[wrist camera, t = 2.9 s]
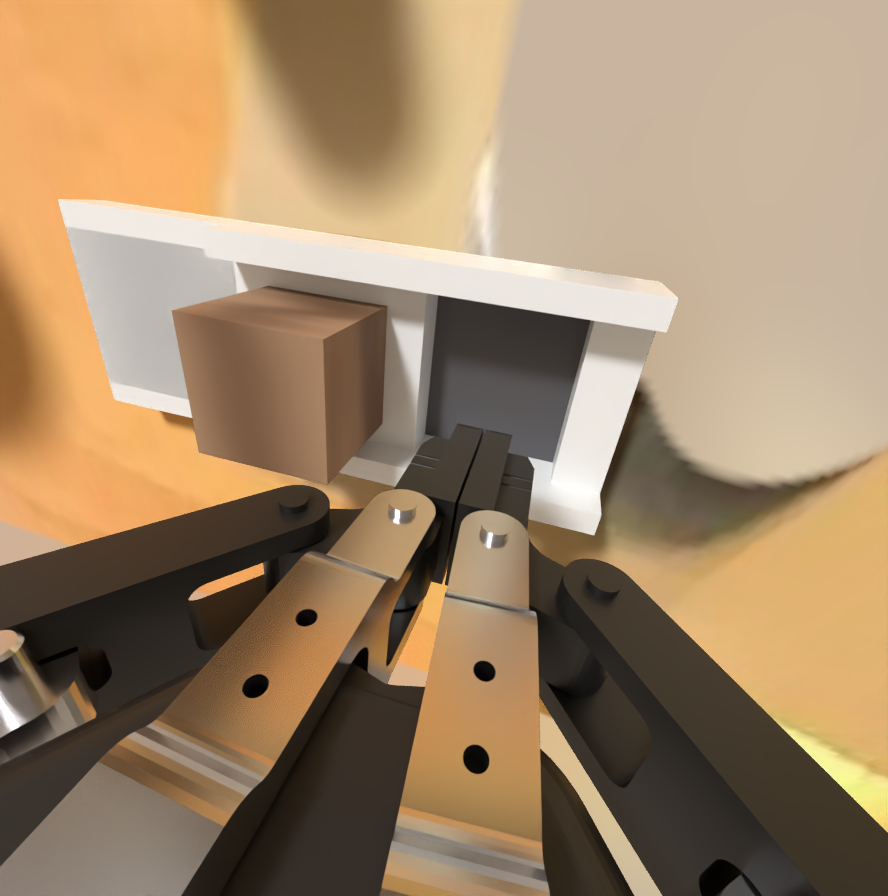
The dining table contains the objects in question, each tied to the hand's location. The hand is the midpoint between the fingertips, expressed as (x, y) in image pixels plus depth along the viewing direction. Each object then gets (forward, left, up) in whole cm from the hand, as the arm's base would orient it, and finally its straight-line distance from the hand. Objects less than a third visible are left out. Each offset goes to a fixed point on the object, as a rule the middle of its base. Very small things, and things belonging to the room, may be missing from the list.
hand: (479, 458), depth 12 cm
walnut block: (+8, 0, -6) cm, 9 cm away
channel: (+8, 0, -8) cm, 11 cm away
